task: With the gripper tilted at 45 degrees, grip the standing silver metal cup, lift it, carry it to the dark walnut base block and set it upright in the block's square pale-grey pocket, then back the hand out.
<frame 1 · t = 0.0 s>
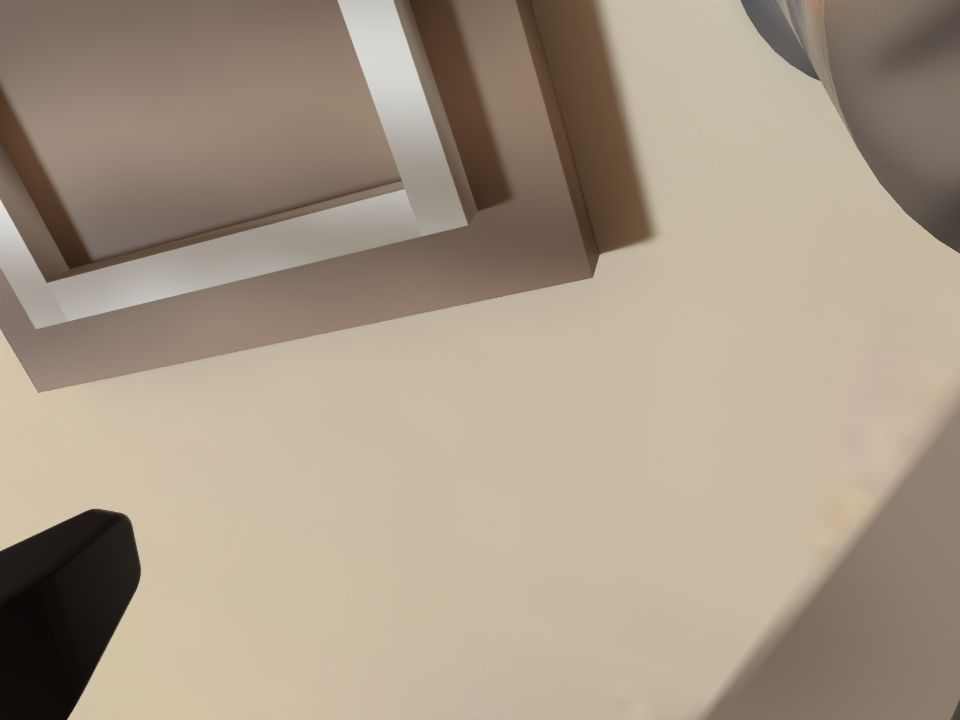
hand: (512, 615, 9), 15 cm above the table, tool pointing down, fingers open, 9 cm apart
walnut base: (166, 5, 22), on the table
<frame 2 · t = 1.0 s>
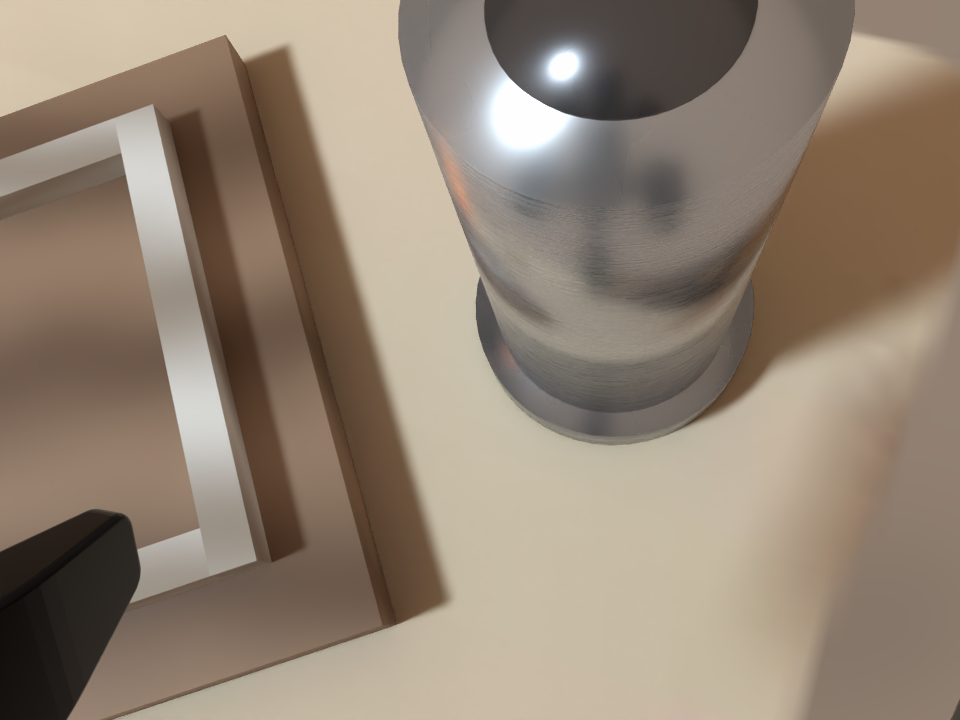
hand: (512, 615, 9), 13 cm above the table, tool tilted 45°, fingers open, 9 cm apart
walnut base: (25, 414, 26), on the table
silver metal cup: (611, 315, 24), on the table
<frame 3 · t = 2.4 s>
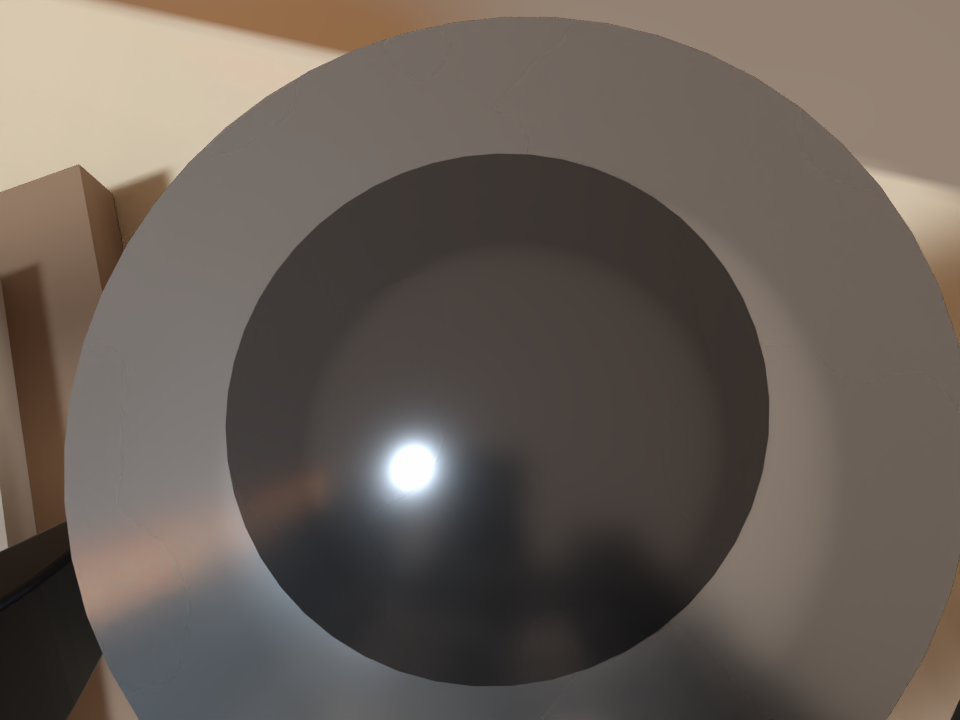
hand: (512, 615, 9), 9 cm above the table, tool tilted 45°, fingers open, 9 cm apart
silver metal cup: (566, 553, 18), on the table
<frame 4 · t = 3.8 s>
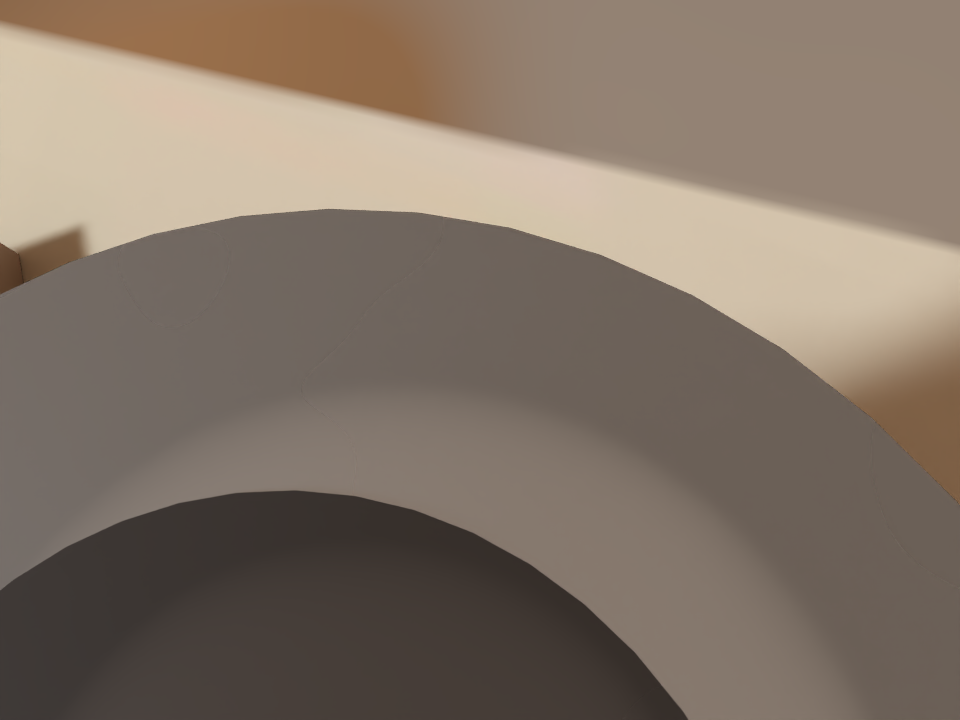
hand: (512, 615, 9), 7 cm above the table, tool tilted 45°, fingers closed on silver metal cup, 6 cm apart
silver metal cup: (536, 699, 15), on the table, touching gripper
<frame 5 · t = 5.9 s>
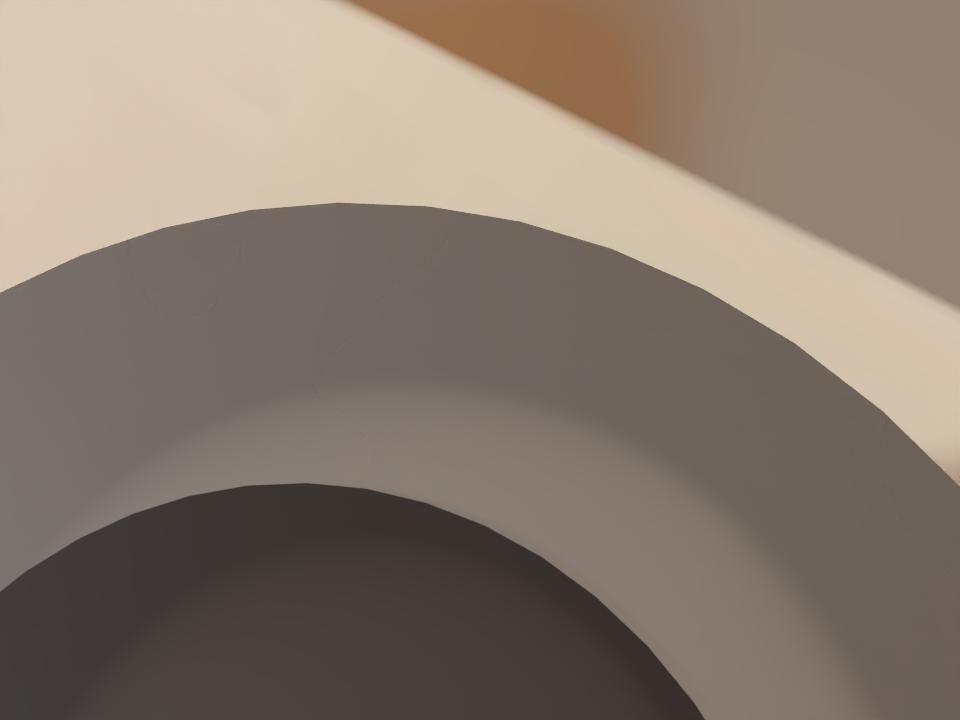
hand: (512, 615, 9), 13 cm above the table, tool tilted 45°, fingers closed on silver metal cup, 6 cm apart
silver metal cup: (538, 697, 15), point 7 cm above the table, touching gripper
when the fingers open (9 cm above the table, at t = 8.0 s): silver metal cup drops 1 cm, resting on walnut base.
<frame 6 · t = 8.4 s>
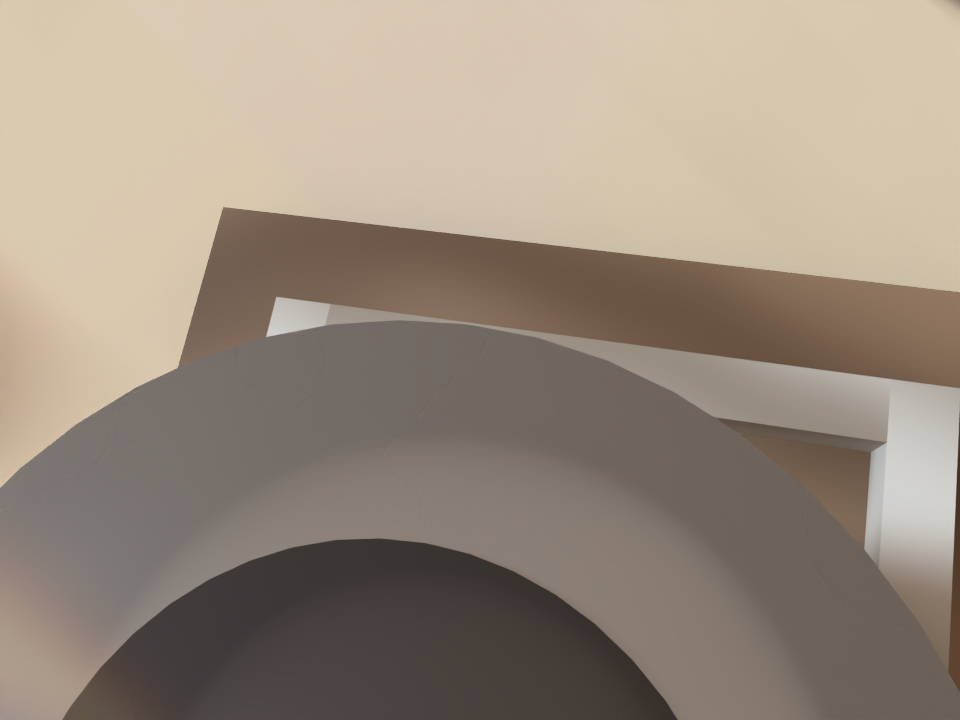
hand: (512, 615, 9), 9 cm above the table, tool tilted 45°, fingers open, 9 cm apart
walnut base: (547, 686, 18), on the table
silver metal cup: (542, 695, 16), point 2 cm above the table, touching walnut base
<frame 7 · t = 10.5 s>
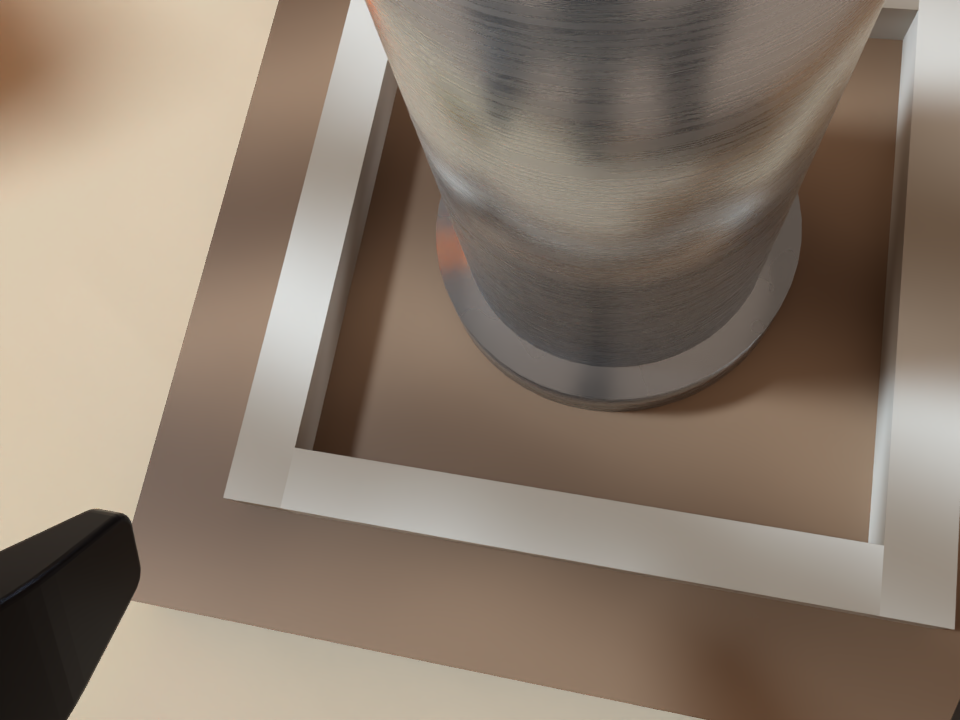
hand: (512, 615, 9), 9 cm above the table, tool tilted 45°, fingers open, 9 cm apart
walnut base: (612, 270, 20), on the table
silver metal cup: (613, 246, 19), point 1 cm above the table, touching walnut base
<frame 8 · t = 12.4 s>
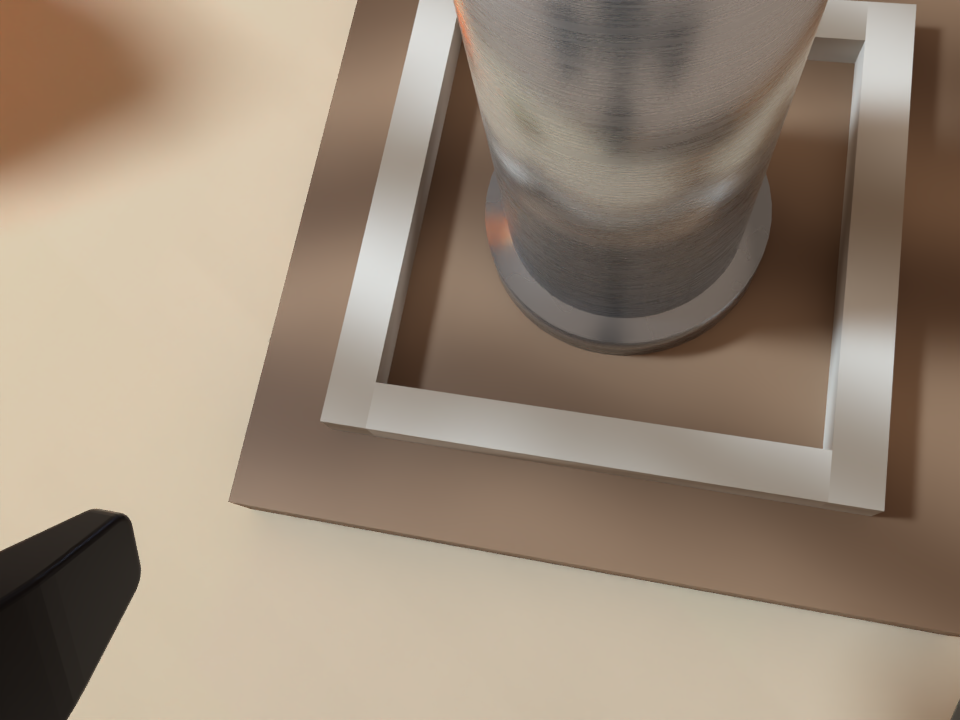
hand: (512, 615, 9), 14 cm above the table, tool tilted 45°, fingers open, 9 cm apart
walnut base: (623, 247, 25), on the table
silver metal cup: (624, 226, 23), point 1 cm above the table, touching walnut base
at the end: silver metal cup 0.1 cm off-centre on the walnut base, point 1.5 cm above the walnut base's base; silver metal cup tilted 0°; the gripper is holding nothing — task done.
